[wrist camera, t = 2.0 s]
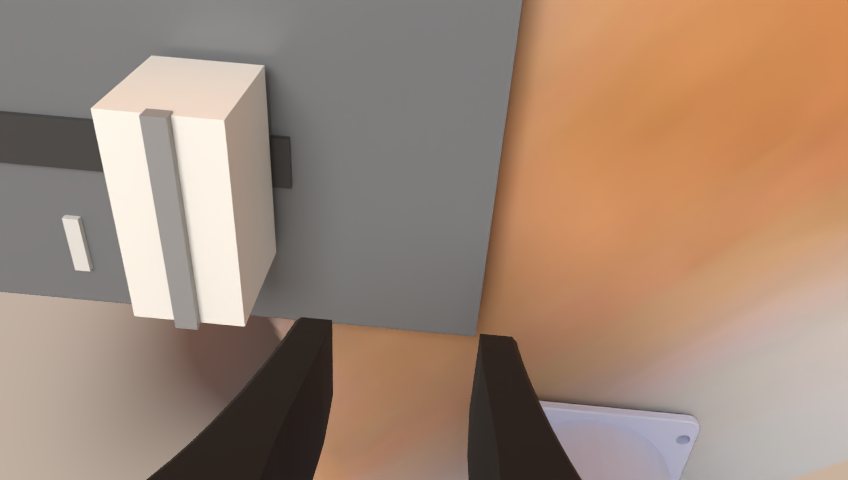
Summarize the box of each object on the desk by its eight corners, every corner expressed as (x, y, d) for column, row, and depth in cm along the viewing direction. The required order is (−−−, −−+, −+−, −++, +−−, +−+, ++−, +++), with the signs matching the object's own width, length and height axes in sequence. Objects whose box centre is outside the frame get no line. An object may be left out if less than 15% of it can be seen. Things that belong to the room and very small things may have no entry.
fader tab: (276, 253, 22) (242, 334, 19) (180, 244, 22) (130, 323, 19) (264, 63, 19) (220, 122, 15) (151, 53, 19) (85, 110, 16)
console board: (475, 308, 25) (475, 342, 24) (-297, 235, 26) (-345, 264, 24) (524, -51, 18) (528, -35, 17) (-522, -138, 19) (-608, -130, 17)
